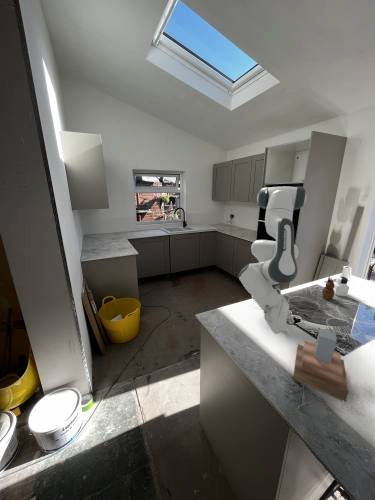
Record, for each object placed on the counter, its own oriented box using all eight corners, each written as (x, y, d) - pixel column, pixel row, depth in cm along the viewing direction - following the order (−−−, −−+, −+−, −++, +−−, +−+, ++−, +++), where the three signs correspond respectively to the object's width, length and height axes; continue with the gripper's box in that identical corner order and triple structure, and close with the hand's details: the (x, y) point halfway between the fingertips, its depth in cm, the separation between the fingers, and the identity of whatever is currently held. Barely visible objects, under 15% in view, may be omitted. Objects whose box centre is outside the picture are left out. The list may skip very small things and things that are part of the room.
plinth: (296, 351, 90) (299, 336, 87) (341, 367, 82) (346, 351, 79) (292, 379, 77) (296, 362, 74) (345, 401, 69) (351, 383, 66)
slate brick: (314, 349, 80) (319, 328, 77) (329, 355, 78) (335, 332, 75) (314, 358, 76) (319, 335, 73) (330, 364, 74) (336, 341, 71)
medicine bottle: (341, 291, 143) (345, 276, 139) (346, 296, 136) (351, 280, 132) (330, 290, 144) (334, 274, 141) (334, 295, 138) (338, 279, 134)
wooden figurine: (319, 295, 137) (324, 274, 133) (328, 295, 137) (333, 275, 132) (325, 300, 131) (330, 279, 126) (334, 301, 130) (340, 279, 126)
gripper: (270, 309, 72) (296, 343, 70) (279, 286, 89) (300, 313, 87) (255, 316, 76) (280, 348, 74) (267, 293, 92) (287, 319, 90)
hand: (291, 329), depth 80 cm, fingers open, 8 cm apart
